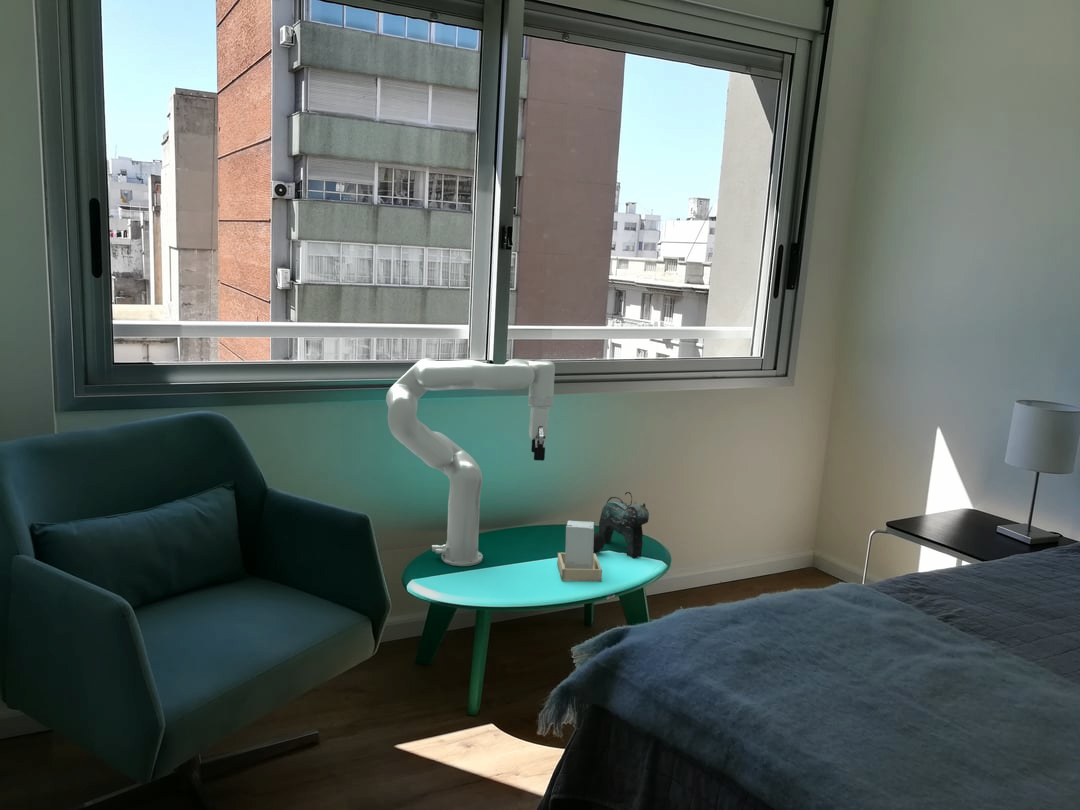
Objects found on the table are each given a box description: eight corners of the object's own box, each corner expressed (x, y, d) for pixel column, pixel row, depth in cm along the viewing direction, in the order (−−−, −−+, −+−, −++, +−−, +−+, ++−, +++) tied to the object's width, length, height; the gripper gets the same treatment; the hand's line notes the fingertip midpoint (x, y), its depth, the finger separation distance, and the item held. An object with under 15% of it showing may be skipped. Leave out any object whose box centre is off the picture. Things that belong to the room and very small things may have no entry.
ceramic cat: (647, 558, 272) (652, 497, 269) (631, 561, 269) (636, 500, 265) (607, 538, 288) (612, 481, 284) (592, 541, 285) (596, 483, 281)
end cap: (579, 560, 268) (580, 539, 266) (565, 552, 273) (566, 532, 272) (603, 554, 273) (605, 534, 272) (590, 547, 279) (591, 527, 278)
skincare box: (592, 568, 260) (595, 521, 257) (591, 575, 254) (594, 528, 251) (565, 565, 261) (568, 518, 258) (563, 573, 255) (566, 525, 252)
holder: (562, 581, 250) (562, 569, 250) (557, 563, 264) (557, 552, 263) (601, 581, 251) (602, 570, 251) (594, 564, 265) (595, 553, 264)
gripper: (526, 395, 268) (523, 448, 271) (530, 406, 251) (527, 463, 254) (550, 396, 268) (547, 449, 272) (555, 407, 251) (552, 463, 255)
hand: (537, 456), depth 263 cm, fingers open, 9 cm apart
